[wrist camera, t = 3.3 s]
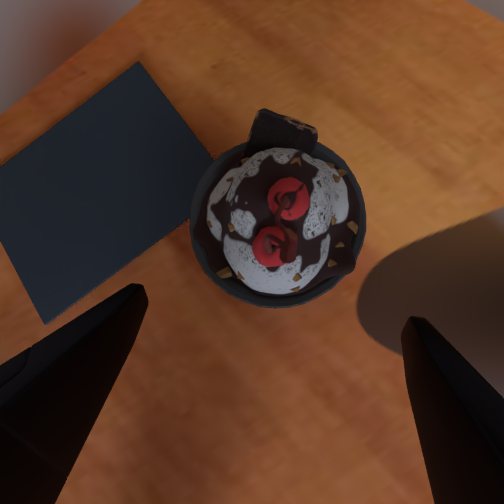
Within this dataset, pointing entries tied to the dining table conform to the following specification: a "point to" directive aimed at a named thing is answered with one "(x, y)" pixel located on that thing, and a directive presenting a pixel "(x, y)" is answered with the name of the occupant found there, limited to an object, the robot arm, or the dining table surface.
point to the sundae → (278, 216)
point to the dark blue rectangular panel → (97, 190)
